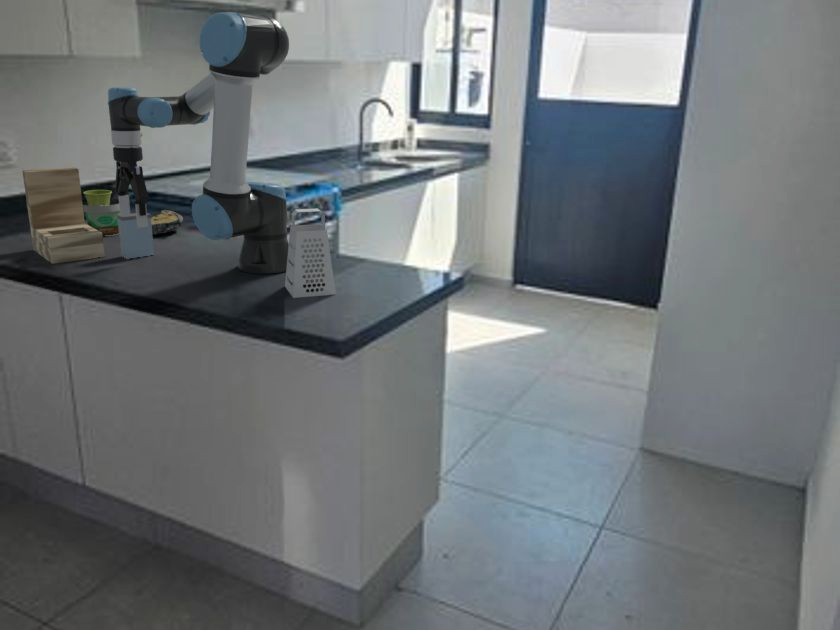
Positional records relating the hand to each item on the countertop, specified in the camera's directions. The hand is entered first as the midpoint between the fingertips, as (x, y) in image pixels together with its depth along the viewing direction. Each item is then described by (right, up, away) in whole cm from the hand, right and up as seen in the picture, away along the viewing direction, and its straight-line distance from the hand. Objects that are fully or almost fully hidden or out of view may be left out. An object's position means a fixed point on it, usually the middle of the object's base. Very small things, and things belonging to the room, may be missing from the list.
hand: (133, 222), depth 214 cm
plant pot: (-34, +9, +57) cm, 67 cm away
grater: (+54, -20, -26) cm, 63 cm away
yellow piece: (-4, +2, +39) cm, 39 cm away
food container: (-18, -1, +28) cm, 33 cm away
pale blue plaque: (0, -9, +3) cm, 10 cm away
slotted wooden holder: (-20, -8, +4) cm, 22 cm away
